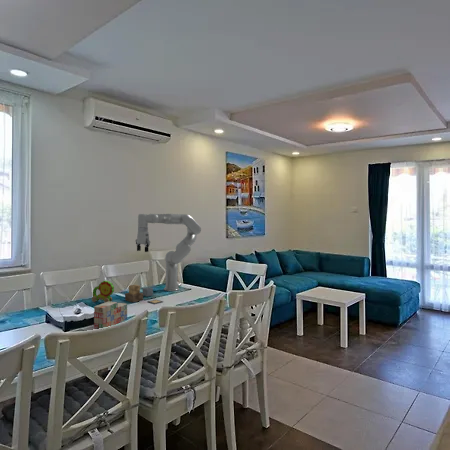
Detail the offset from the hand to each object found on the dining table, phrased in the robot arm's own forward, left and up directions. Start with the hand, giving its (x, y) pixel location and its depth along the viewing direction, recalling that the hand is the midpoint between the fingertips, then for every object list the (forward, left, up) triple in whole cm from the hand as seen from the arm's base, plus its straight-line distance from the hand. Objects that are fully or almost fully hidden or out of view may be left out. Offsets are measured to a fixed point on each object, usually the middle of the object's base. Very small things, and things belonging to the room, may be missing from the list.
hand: (142, 251), depth 284 cm
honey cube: (+20, +17, -27) cm, 38 cm away
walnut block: (+20, +17, -32) cm, 42 cm away
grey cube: (+4, +12, -32) cm, 35 cm away
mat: (+13, +32, -32) cm, 47 cm away
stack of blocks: (+61, +51, -33) cm, 86 cm away
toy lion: (+38, +6, -33) cm, 50 cm away
